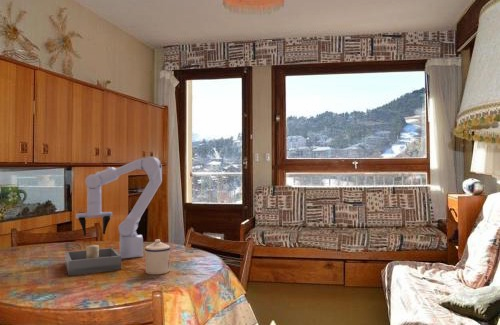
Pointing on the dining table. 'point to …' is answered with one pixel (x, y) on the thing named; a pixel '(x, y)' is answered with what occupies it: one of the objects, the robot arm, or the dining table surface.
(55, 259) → the dining table surface
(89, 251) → the peg
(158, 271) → the teacup with lid
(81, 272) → the box
